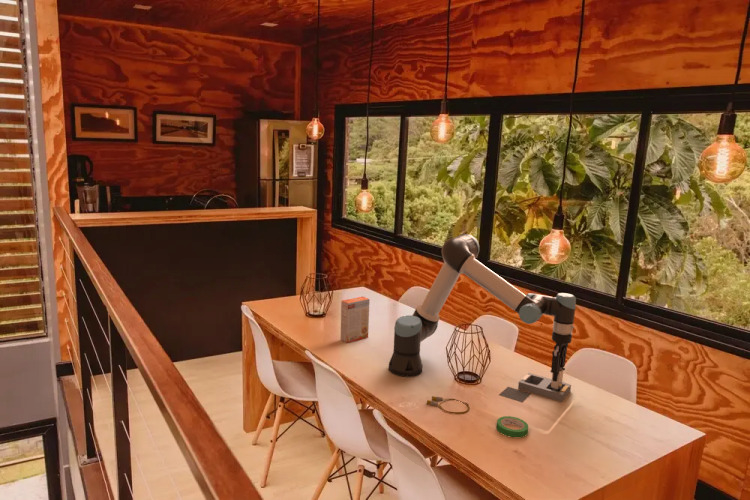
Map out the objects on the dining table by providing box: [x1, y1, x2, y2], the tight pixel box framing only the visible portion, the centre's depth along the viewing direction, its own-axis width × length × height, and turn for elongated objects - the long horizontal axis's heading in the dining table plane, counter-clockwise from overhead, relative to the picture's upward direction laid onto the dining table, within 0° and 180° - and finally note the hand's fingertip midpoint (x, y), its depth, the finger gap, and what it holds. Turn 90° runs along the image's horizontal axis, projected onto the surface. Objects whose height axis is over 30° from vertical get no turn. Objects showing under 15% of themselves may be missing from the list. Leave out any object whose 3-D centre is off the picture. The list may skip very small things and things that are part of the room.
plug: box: [551, 366, 564, 392], centre depth 226 cm, size 4×4×11 cm
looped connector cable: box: [426, 395, 470, 415], centre depth 215 cm, size 12×16×2 cm
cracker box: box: [340, 296, 370, 344], centre depth 278 cm, size 14×6×21 cm, turn 130°
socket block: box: [517, 372, 572, 403], centre depth 230 cm, size 12×18×4 cm, turn 55°
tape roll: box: [495, 415, 529, 438], centre depth 199 cm, size 11×11×3 cm
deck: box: [498, 386, 532, 403], centre depth 225 cm, size 10×10×1 cm
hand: (555, 386), depth 227 cm, fingers closed on plug, 3 cm apart
